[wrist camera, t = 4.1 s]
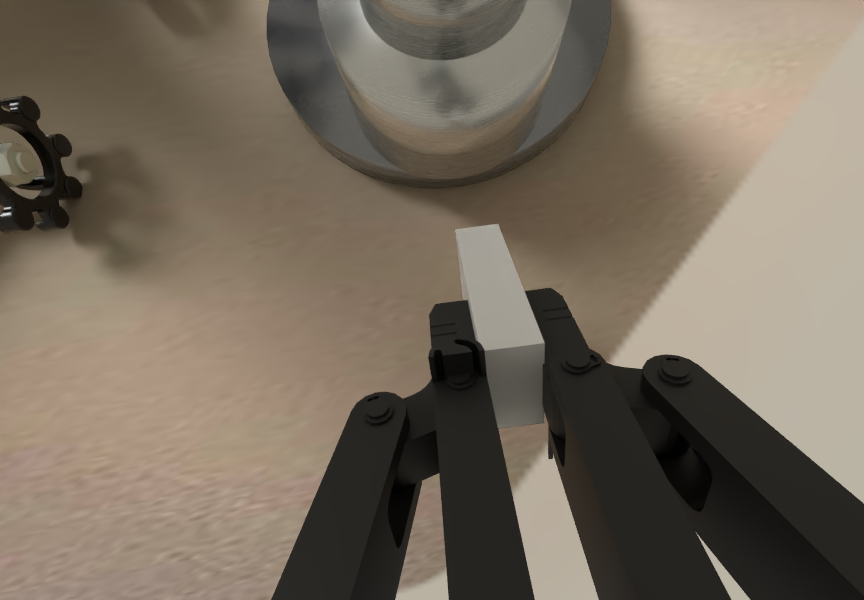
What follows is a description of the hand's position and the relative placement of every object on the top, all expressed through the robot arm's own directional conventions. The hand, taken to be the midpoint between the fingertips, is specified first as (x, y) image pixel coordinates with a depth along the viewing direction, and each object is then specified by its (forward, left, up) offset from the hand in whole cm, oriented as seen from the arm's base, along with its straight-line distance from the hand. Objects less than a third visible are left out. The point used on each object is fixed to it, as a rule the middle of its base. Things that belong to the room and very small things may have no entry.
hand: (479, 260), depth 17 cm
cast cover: (0, +10, -4) cm, 10 cm away
